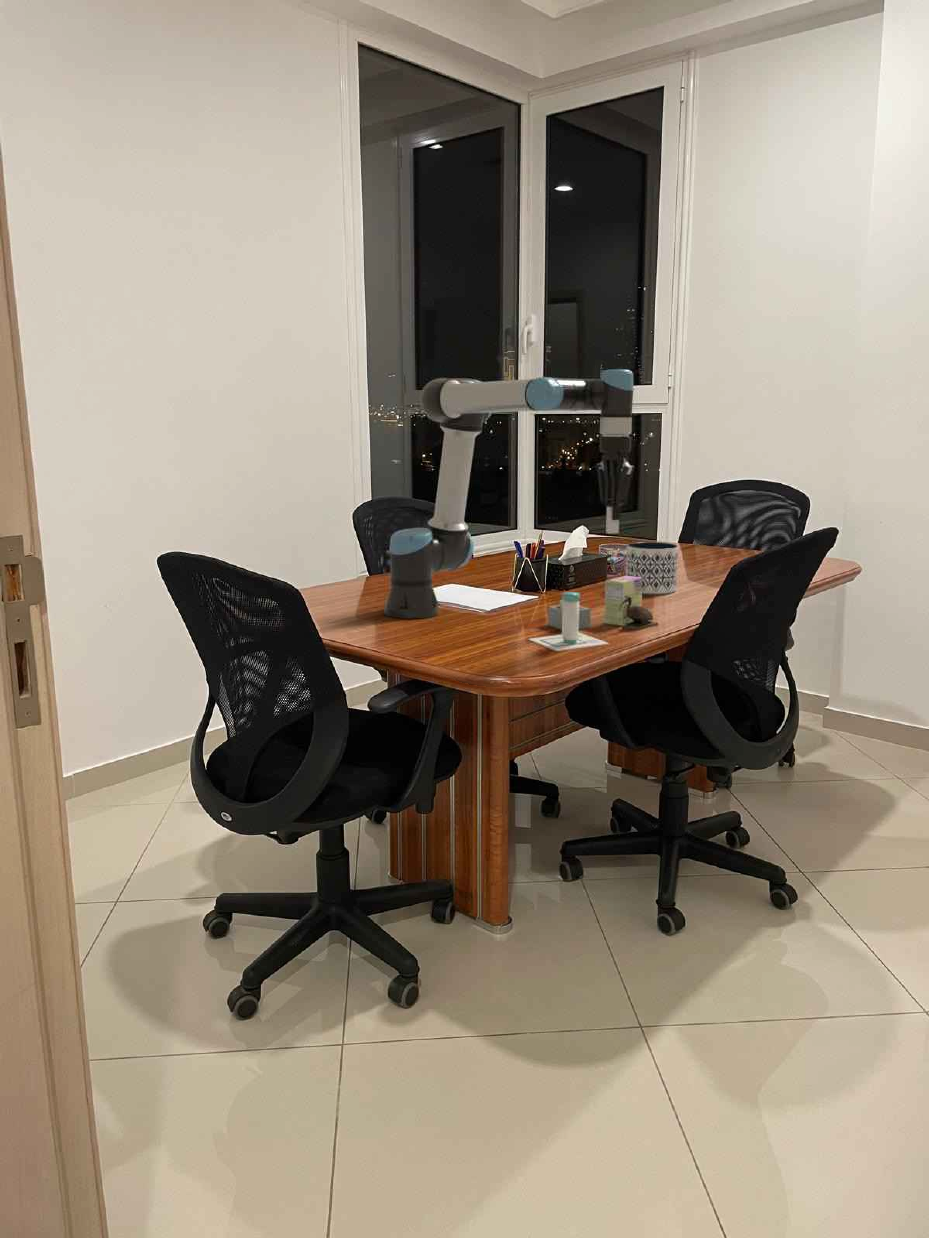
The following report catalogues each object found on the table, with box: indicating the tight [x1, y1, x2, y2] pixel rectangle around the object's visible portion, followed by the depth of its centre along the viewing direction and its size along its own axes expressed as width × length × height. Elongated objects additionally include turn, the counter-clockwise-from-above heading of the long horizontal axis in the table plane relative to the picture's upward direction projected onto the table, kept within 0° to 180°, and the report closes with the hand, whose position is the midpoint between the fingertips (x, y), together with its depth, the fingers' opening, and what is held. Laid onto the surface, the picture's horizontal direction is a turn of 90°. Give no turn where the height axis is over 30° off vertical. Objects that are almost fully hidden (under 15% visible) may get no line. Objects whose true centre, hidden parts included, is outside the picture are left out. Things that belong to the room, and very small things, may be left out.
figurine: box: [619, 597, 659, 632], centre depth 249 cm, size 14×4×9 cm, turn 134°
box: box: [603, 575, 643, 627], centre depth 256 cm, size 10×6×12 cm, turn 141°
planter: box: [625, 541, 679, 595], centre depth 301 cm, size 16×16×14 cm
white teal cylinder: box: [561, 591, 581, 644], centre depth 231 cm, size 4×4×12 cm
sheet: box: [528, 632, 610, 652], centre depth 234 cm, size 15×13×1 cm
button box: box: [547, 604, 592, 631], centre depth 251 cm, size 8×8×5 cm
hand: (612, 532), depth 236 cm, fingers closed
